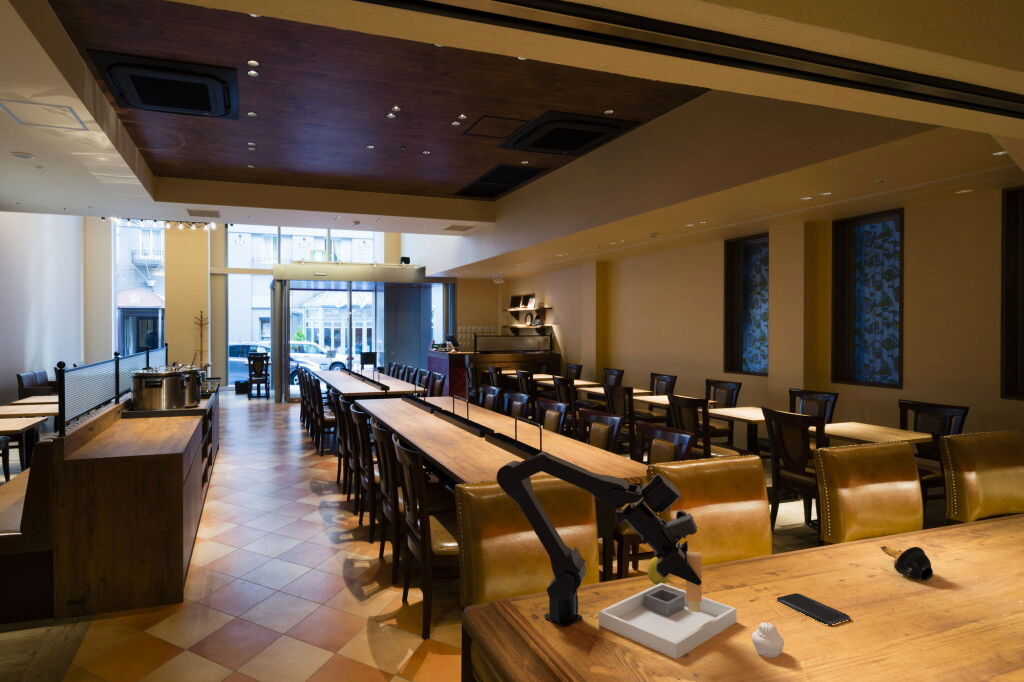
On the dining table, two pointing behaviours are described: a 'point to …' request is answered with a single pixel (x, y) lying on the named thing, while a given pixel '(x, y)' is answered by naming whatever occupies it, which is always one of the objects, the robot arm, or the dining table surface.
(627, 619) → the walled tray
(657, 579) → the lemon
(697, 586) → the tan square peg
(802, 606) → the phone
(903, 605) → the dining table surface
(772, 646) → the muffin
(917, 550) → the toilet plunger
